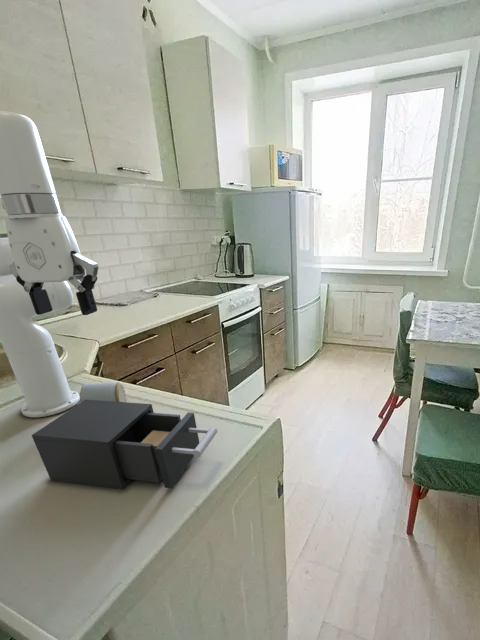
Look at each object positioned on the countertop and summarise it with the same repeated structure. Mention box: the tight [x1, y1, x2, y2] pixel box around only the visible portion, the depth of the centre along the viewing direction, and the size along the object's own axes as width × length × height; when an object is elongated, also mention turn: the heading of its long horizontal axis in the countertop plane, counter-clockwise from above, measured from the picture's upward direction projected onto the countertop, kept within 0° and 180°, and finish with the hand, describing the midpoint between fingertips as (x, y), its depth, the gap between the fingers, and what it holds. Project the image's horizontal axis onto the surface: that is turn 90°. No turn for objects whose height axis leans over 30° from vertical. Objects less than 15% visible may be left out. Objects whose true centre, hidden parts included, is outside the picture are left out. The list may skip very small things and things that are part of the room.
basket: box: [112, 412, 218, 489], centre depth 62 cm, size 19×11×8 cm, turn 78°
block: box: [141, 430, 170, 467], centre depth 62 cm, size 4×4×4 cm
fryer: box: [31, 400, 155, 490], centre depth 64 cm, size 15×13×10 cm
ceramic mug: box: [79, 381, 127, 403], centre depth 84 cm, size 11×8×8 cm
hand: (67, 313), depth 64 cm, fingers open, 9 cm apart
